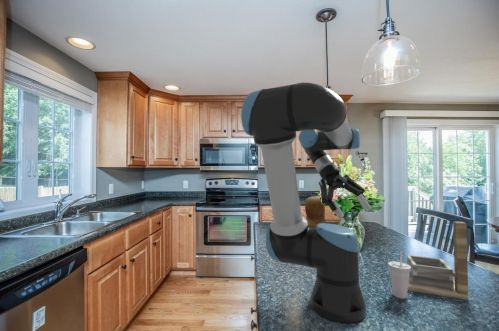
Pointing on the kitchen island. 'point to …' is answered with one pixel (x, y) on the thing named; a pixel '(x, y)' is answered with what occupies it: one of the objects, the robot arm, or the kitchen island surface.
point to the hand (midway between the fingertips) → (355, 213)
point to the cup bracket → (442, 270)
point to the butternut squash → (314, 211)
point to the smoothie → (399, 277)
